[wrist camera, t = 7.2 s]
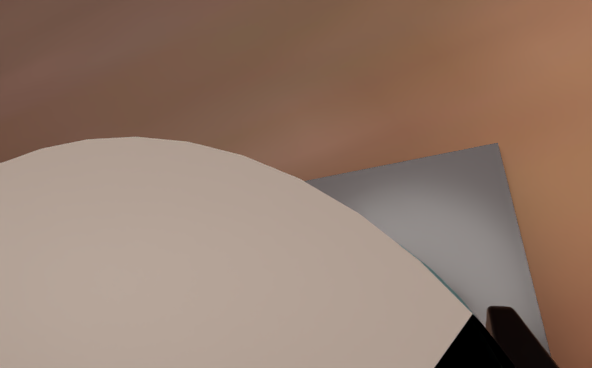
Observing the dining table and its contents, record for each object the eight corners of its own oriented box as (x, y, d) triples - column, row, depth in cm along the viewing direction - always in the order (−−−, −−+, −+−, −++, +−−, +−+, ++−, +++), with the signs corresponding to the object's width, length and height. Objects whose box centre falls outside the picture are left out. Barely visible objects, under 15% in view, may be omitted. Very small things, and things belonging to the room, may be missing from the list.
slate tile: (582, 510, 15) (594, 528, 14) (279, 511, 18) (269, 526, 17) (493, 151, 19) (497, 143, 17) (248, 198, 21) (238, 194, 20)
